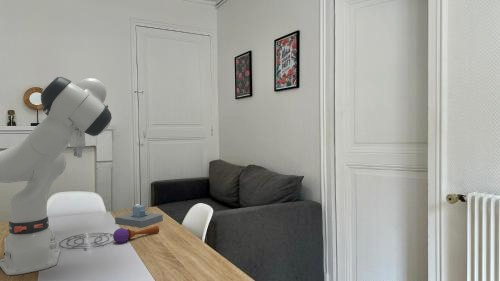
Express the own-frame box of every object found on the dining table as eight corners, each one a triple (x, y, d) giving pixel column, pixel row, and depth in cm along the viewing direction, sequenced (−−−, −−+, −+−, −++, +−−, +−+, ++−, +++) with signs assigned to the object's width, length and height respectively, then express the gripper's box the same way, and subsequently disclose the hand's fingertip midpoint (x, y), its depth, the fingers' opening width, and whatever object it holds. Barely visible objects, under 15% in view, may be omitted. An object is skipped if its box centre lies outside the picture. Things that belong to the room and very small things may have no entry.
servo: (147, 222, 172) (147, 204, 172) (141, 223, 168) (140, 206, 168) (137, 220, 176) (136, 203, 175) (131, 222, 172) (130, 204, 172)
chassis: (162, 220, 174) (162, 214, 174) (141, 227, 162) (141, 221, 162) (137, 216, 183) (137, 211, 183) (115, 223, 170) (115, 217, 170)
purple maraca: (161, 225, 151) (118, 232, 136) (159, 238, 151) (116, 246, 136) (154, 220, 155) (111, 227, 140) (152, 233, 155) (109, 241, 140)
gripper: (88, 125, 148) (89, 157, 148) (80, 126, 165) (81, 155, 165) (72, 125, 144) (73, 158, 145) (65, 126, 161) (66, 156, 161)
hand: (77, 156), depth 155 cm, fingers open, 8 cm apart
